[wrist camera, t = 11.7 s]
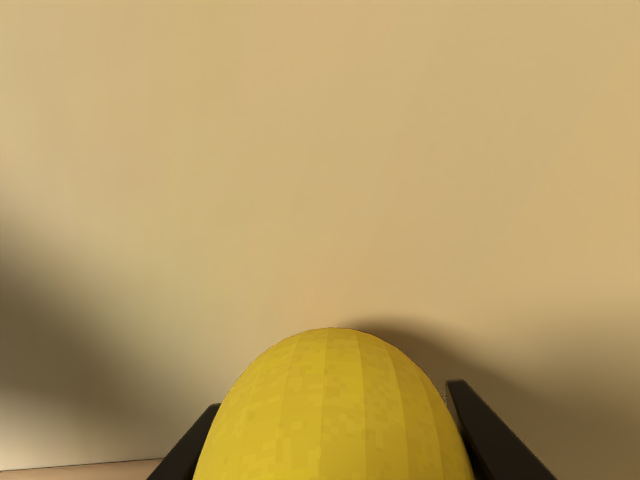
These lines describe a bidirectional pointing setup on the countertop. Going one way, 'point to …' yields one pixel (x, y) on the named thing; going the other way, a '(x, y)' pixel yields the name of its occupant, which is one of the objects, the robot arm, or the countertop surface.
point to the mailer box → (88, 472)
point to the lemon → (333, 416)
